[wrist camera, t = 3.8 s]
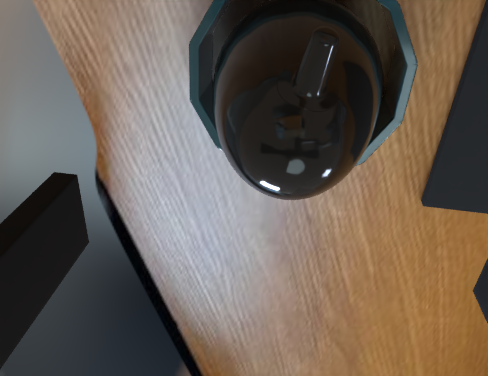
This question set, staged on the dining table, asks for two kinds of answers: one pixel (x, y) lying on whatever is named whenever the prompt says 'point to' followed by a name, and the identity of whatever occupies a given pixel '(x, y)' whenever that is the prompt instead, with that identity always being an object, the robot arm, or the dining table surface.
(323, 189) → the dark glossy rounded piece
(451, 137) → the rubber mat
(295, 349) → the dining table surface
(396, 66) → the teal ring
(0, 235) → the robot arm
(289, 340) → the dining table surface
